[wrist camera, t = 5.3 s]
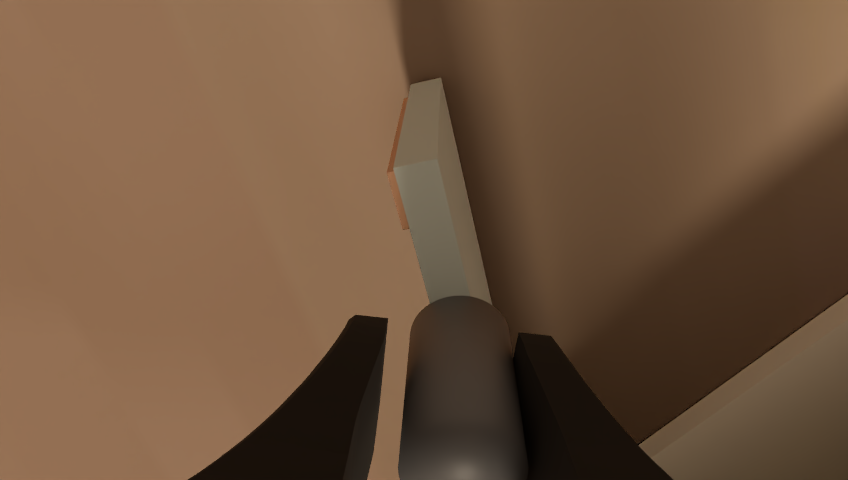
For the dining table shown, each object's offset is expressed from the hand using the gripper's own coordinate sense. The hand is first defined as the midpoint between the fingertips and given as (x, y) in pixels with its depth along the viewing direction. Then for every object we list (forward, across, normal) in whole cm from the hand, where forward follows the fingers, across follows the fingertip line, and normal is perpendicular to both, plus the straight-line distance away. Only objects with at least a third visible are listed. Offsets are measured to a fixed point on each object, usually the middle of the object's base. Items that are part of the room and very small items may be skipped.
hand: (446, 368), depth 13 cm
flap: (+7, -2, +4) cm, 8 cm away
